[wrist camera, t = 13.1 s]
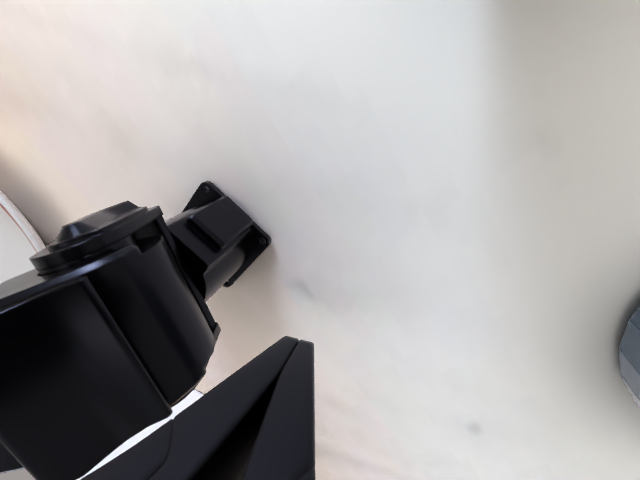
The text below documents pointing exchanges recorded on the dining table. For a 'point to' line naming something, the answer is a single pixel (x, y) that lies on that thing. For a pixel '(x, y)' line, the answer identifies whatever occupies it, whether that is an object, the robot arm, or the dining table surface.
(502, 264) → the dining table surface
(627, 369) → the bowl
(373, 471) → the dining table surface
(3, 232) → the dinner plate
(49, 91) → the dining table surface
